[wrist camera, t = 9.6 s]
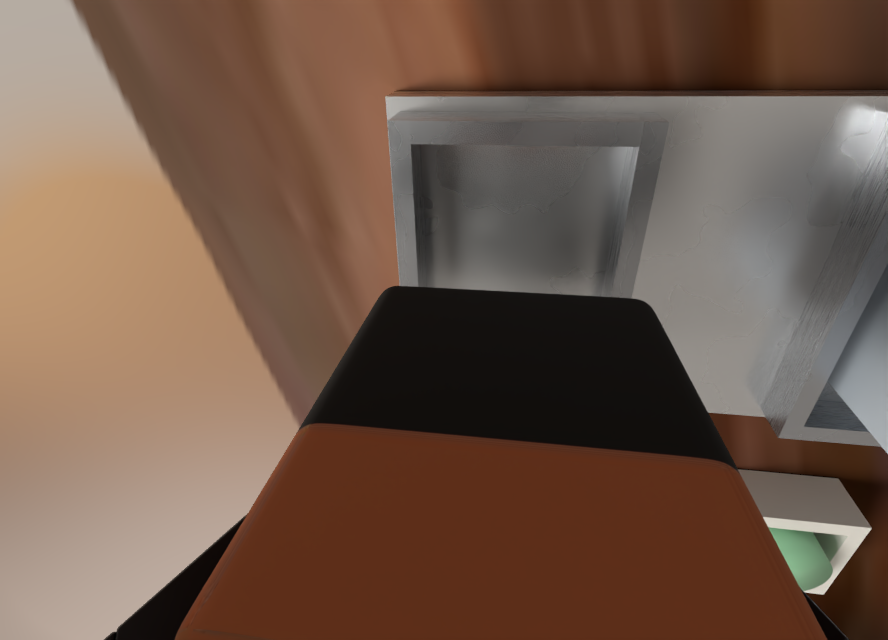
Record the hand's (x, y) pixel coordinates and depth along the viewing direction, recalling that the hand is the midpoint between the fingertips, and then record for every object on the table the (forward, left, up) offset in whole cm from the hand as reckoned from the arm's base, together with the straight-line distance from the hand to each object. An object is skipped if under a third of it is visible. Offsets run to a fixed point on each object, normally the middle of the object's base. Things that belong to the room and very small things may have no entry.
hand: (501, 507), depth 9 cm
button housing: (-12, -12, -11) cm, 20 cm away
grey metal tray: (0, -6, -11) cm, 12 cm away
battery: (0, 0, -5) cm, 5 cm away
